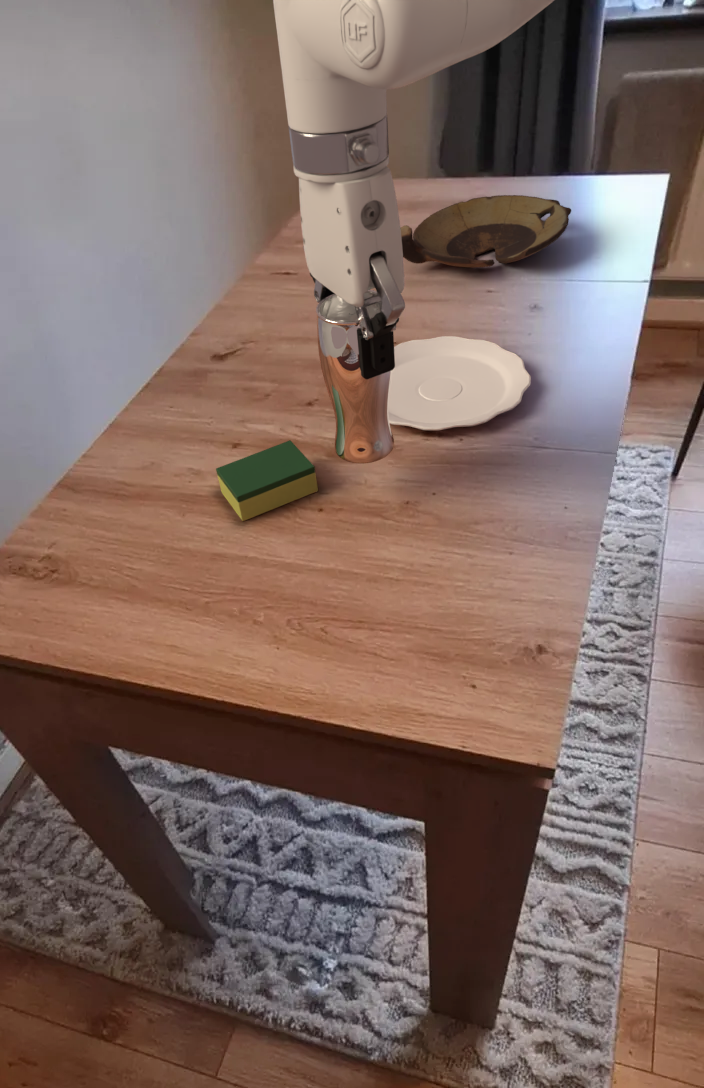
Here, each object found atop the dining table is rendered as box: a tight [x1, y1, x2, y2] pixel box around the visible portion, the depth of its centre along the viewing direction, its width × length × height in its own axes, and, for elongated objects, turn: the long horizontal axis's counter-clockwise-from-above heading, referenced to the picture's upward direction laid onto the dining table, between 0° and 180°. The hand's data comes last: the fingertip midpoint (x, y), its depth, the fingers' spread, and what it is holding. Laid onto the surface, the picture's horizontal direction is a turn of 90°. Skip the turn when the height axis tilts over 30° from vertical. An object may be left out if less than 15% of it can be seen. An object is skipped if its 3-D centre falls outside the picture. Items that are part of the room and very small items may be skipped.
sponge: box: [215, 439, 319, 522], centre depth 86 cm, size 9×6×3 cm, turn 117°
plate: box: [388, 335, 532, 431], centre depth 97 cm, size 21×21×2 cm
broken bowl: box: [400, 194, 572, 268], centre depth 121 cm, size 22×30×8 cm
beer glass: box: [315, 289, 395, 465], centre depth 76 cm, size 7×7×15 cm
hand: (357, 355), depth 74 cm, fingers closed on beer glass, 7 cm apart
